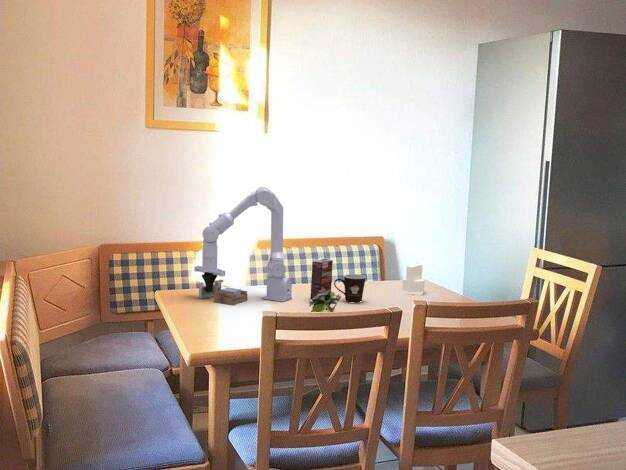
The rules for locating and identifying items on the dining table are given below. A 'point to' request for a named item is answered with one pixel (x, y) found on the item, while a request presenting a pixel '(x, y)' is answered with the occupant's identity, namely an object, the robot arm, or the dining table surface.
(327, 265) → the supplement box
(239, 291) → the lid
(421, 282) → the base with upright slab
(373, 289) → the dining table surface
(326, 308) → the green leafy plant
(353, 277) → the coffee mug
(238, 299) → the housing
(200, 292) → the key
